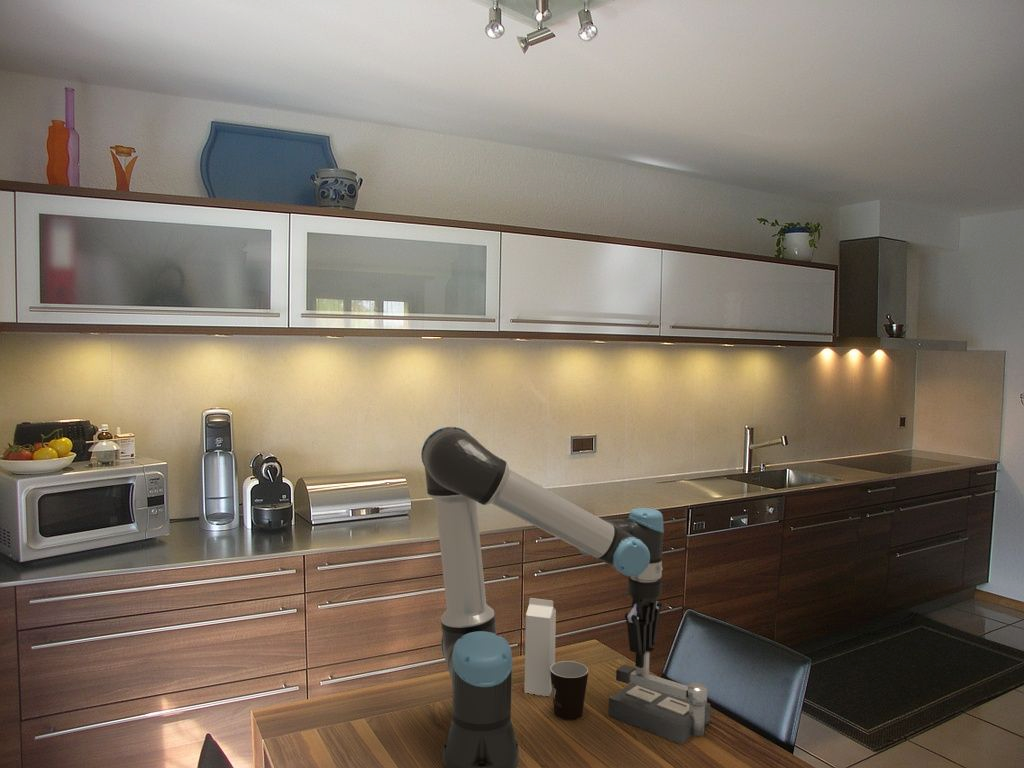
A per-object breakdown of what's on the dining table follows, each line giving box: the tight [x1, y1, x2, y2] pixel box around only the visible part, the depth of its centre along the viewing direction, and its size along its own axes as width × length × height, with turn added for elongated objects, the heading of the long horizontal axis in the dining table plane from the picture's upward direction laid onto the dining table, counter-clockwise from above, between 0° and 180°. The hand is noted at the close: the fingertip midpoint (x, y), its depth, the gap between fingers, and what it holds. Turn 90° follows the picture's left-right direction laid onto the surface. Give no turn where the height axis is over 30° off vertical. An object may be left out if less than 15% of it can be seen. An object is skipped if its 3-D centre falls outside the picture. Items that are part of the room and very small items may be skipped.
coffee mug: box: [550, 660, 589, 721], centre depth 162 cm, size 12×9×10 cm
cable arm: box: [615, 664, 708, 705], centre depth 158 cm, size 20×4×3 cm, turn 54°
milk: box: [524, 597, 557, 698], centre depth 172 cm, size 6×6×22 cm
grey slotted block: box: [608, 682, 711, 745], centre depth 159 cm, size 20×13×6 cm, turn 49°
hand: (641, 679), depth 163 cm, fingers closed
